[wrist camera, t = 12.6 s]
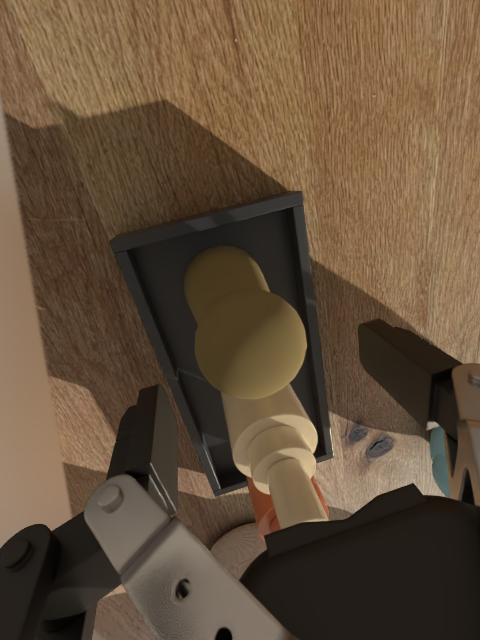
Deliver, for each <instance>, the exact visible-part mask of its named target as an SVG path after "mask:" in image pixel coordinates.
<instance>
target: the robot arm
mask: <svg viewBox="0 0 480 640" xmlns="http://www.w3.org/2000/svg"><path fill="white" fill-rule="evenodd" d="M358 338H359V357H360V361H361V364H362V366H363V368H364V369H365V371H366V372H367V373H368V374H369V375H370V376H371V377H372V378H373V379H374V380H375V381H376V382H377V383H378V384H379V385H380V386H382V387H383V388H384V389H385V390H386V391H387V392H388V393H389V394H390V395H391V396H392V397H393V398H394V399H395V400H396V401H397V402H398V403H399V404H400V405H401V406H402V407H403V408H404V409H405V410H406V411H407V412H408V413H409V414H410V415H411V416H412V417H413V418H414V419H415V420H416V421H417V422H418V423H419V424H420V425H421V426H422V427H423V428H424V429H425V430H426V431H427V430H430V429H433V428H436V427H438V426H440V427H441V428H442V429H443V430H444V445H445V453H446V461H447V470H448V478H449V488H450V498H447V497H441V496H431V495H423V494H422V493H421V492H420V491H419V489H418V488H417V487H416V486H415V484H414V483H412V484H410V485H407V486H404V487H401V488H398V489H395V490H392V491H390V492H387V493H384V494H381V495H378V496H377V497H375V498H374V499H373V500H371V501H370V502H369V503H367V504H366V505H365V506H363V507H362V508H361V509H359V510H358V511H357V512H356V513H354V514H353V515H352V516H350V517H349V518H347V519H345V520H335V521H316V522H301V523H298V524H295V525H292V526H290V527H287V528H284V529H281V530H278V531H275V532H272V533H270V534H267V535H264V539H265V543H266V547H267V549H266V550H265V551H264V552H262V553H261V554H260V555H259V556H258V557H256V558H255V559H254V560H253V561H252V562H251V564H250V565H249V566H248V567H247V569H246V570H245V571H244V573H243V574H242V576H241V578H240V579H239V580H238V579H237V578H236V577H235V576H234V575H233V574H232V573H231V572H230V571H229V570H228V569H227V568H226V567H225V566H224V565H223V564H222V563H221V562H220V561H219V560H218V559H217V558H216V557H215V556H214V555H213V554H212V553H211V552H210V551H209V550H208V549H207V548H206V547H205V545H204V544H203V543H202V542H201V541H200V540H199V539H198V538H197V537H196V536H195V535H194V534H193V533H192V532H191V531H190V530H189V529H188V528H187V527H186V526H185V525H184V524H183V523H182V522H181V521H180V520H179V519H178V518H177V517H175V516H174V517H173V518H172V517H170V515H173V514H176V513H178V427H177V421H176V417H175V414H174V412H173V409H172V407H171V405H170V402H169V400H168V398H167V396H166V393H165V391H164V389H163V387H162V385H161V384H157V385H154V386H151V387H147V388H144V389H141V390H140V391H139V396H138V402H137V405H134V406H131V407H129V408H128V409H127V411H126V412H125V414H124V415H123V417H122V418H121V421H120V425H119V429H118V431H119V433H117V438H116V443H115V446H114V450H113V454H112V458H111V462H110V466H109V470H108V474H107V478H106V481H104V482H103V483H102V484H101V485H99V486H98V487H97V488H96V489H95V491H94V492H93V493H92V494H91V496H90V497H89V499H88V501H87V503H86V505H85V509H84V511H83V512H81V513H80V514H78V515H77V516H75V517H74V518H72V519H71V520H69V521H67V522H66V523H64V524H63V525H61V526H60V527H58V528H56V529H55V530H53V531H51V530H50V529H49V528H48V527H47V526H46V525H43V524H34V525H31V526H29V527H26V528H24V529H23V530H21V531H19V532H18V533H16V534H15V535H14V536H13V537H11V538H10V539H9V540H8V541H7V542H6V543H5V544H4V545H3V546H2V547H1V548H0V640H92V634H93V628H94V622H95V615H96V608H97V602H98V601H99V600H100V599H102V598H103V597H104V596H106V595H107V594H108V593H110V592H111V591H113V590H114V589H115V588H117V587H118V586H119V585H121V584H122V586H123V587H124V589H125V591H126V592H127V594H128V595H129V597H130V599H131V600H132V602H133V604H134V605H135V607H136V609H137V610H138V612H139V613H140V615H141V617H142V618H143V620H144V622H145V623H146V625H147V627H148V628H149V630H150V631H151V633H152V635H153V636H154V638H155V640H480V364H477V363H469V364H462V363H461V362H459V361H458V360H456V359H454V358H453V357H451V356H450V355H448V354H446V353H445V352H443V351H442V350H440V349H438V348H437V347H435V346H434V345H430V343H429V342H427V341H426V340H424V339H421V337H419V336H418V335H416V334H414V333H413V332H411V331H409V330H406V329H403V328H399V327H396V326H395V327H392V326H391V325H389V324H387V323H386V322H384V321H383V320H381V319H375V320H372V321H368V322H365V323H362V324H360V325H359V327H358Z"/></svg>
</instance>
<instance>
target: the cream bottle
mask: <svg viewBox="0 0 480 640" xmlns="http://www.w3.org/2000/svg"><path fill="white" fill-rule="evenodd" d="M220 395H221V400H222V405H223V410H224V415H225V420H226V426H227V431H228V436H229V441H230V446H231V451H232V456H233V461H234V464H235V465H236V467H237V468H238V469H239V471H240V472H242V473H243V474H244V475H246V476H248V477H250V478H252V480H253V484H254V485H255V487H256V488H257V489H258V490H259V491H261V492H262V493H265V494H268V495H271V499H272V502H273V505H274V509H275V512H276V516H277V519H278V522H279V526H280V529H284V528H287V527H290V526H292V525H295V524H298V523H301V522H316V521H329V520H328V517H327V515H326V513H325V511H324V508H323V506H322V504H321V502H320V500H319V497H318V495H317V493H316V491H315V488H314V486H313V484H312V482H311V478H312V476H313V474H314V472H315V470H316V459H315V457H314V455H313V453H314V451H315V449H316V446H317V439H318V437H317V431H316V429H315V427H314V425H313V423H312V422H311V420H310V418H309V416H308V414H307V413H306V411H305V409H304V407H303V406H302V404H301V402H300V400H299V399H298V397H297V395H296V393H295V391H294V390H293V388H292V386H291V384H290V383H289V384H288V385H287V386H286V387H284V388H283V389H281V390H279V391H278V392H276V393H274V394H272V395H269V396H266V397H262V398H259V399H240V398H236V397H232V396H229V395H226V394H224V393H223V392H221V391H220Z"/></svg>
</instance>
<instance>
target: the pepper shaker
mask: <svg viewBox="0 0 480 640" xmlns="http://www.w3.org/2000/svg"><path fill="white" fill-rule="evenodd" d="M183 290H184V294H185V297H186V300H187V303H188V305H189V307H190V309H191V311H192V313H193V315H194V317H195V320H196V322H197V324H198V327H197V330H196V332H195V356H196V359H197V362H198V365H199V368H200V370H201V372H202V374H203V375H204V376H205V378H206V379H207V380H208V381H209V383H210V384H211V385H212V386H213V387H215V388H216V389H218V390H219V391H221V392H223V393H224V394H226V395H229V396H232V397H236V398H240V399H259V398H262V397H266V396H269V395H272V394H274V393H276V392H278V391H279V390H281V389H283V388H284V387H286V386H287V385H288V384H289V383H290V382H291V381H292V380H293V379H294V378H295V376H296V375H297V373H298V371H299V369H300V368H301V366H302V364H303V361H304V357H305V352H306V348H307V341H306V333H305V328H304V325H303V323H302V321H301V319H300V317H299V315H298V313H297V312H296V310H295V309H294V308H293V307H292V306H291V305H289V304H288V303H287V302H286V301H285V300H284V299H283V298H281V297H280V296H278V295H276V294H273V293H271V292H270V290H269V288H268V285H267V283H266V281H265V278H264V276H263V274H262V272H261V269H260V268H259V266H258V264H257V262H256V260H255V259H254V258H253V257H252V256H251V255H249V254H248V253H247V252H246V251H244V250H242V249H239V248H237V247H235V246H225V245H220V246H216V247H212V248H208V249H206V250H205V251H203V252H202V253H200V254H198V255H197V256H196V257H195V258H194V260H193V261H192V262H191V263H190V264H189V266H188V268H187V271H186V273H185V276H184V288H183Z"/></svg>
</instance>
